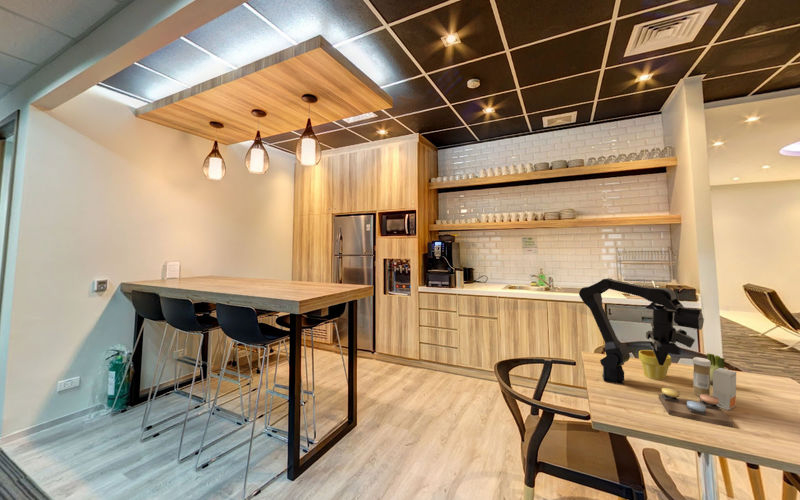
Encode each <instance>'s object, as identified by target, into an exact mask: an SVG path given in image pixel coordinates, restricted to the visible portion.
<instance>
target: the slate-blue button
mask: <svg viewBox="0 0 800 500" xmlns="http://www.w3.org/2000/svg"><path fill="white" fill-rule="evenodd" d="M695 401H696V400H694V401H687V407H689V408H691V409H692V410H696V411H701V412H704V411H706V406H705V405H704V404H702V403H699V402H695Z"/></svg>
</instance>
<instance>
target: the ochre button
mask: <svg viewBox="0 0 800 500" xmlns="http://www.w3.org/2000/svg"><path fill="white" fill-rule="evenodd" d="M661 394H665V395H666V396H667V397H669V398H674V397H678V398H680V392H679V390H678V391H677V390H676V389H673V388H669V387H661Z"/></svg>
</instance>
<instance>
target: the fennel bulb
mask: <svg viewBox="0 0 800 500" xmlns="http://www.w3.org/2000/svg"><path fill="white" fill-rule="evenodd" d="M706 356H707V357H706V359H708V360H710V362H711V366H710V386H713V371H714V370H716V369H719V368H723V369H725V362H726V360H725V358H724V357H721V356H719V355H715V354H713V353H709V352H707V353H706Z"/></svg>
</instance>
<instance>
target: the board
mask: <svg viewBox="0 0 800 500" xmlns="http://www.w3.org/2000/svg"><path fill="white" fill-rule="evenodd" d="M658 400H659V401H660V403H661V404H662V406H663V408H664V409H665V412H667V414H668V415H670V416H674V417H680V418H684V419H689V420H694V421H700V422H704V423H710V424H714V425H720V426H725V427H729V428H734V422H733V420H732V419H731V418H730V417H729V416H728V415H727V414H726V413H725V412H724V411H723V410H722V408H721V407H718V406H717V405H716V404H714V405H708V404H706V403H705V402H704V401H702V400H701V399H700V400H694V399H688V398H683V397H674V398H669V397H667V396H666V395H665V394H663V393H661V394H660V393H658ZM687 401H695V402H699V403H702V404H704V405H705V406H706V411H704V412H701V411H696V410H692V409H691V408H689V407H687Z"/></svg>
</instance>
